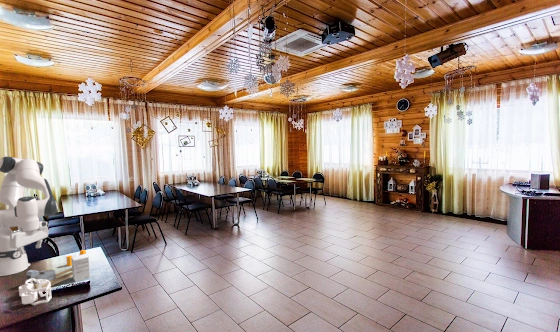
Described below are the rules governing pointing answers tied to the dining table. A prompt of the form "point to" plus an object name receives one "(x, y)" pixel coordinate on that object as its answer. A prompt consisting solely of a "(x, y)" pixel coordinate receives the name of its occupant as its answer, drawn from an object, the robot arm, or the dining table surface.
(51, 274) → the wooden rectangular frame
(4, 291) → the dining table surface
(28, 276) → the stepped grey block
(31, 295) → the car outline toy
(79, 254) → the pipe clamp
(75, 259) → the supplement box
